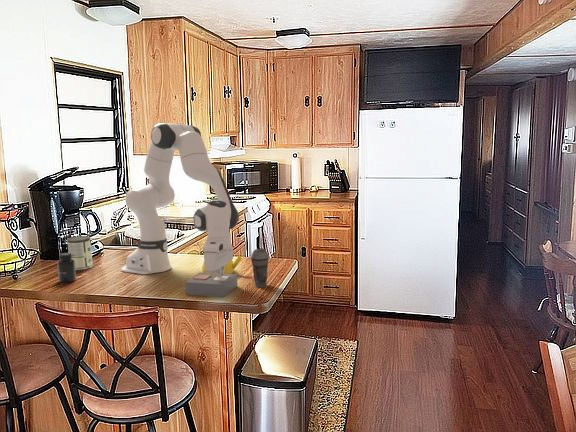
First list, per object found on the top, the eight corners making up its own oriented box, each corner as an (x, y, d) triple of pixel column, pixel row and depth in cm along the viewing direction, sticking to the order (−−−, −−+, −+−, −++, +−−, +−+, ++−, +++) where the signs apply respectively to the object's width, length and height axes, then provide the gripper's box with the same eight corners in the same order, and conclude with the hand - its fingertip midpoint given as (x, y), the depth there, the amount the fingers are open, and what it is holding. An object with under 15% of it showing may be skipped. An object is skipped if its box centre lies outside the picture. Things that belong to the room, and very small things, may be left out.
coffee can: (70, 265, 252) (68, 236, 249) (93, 263, 254) (91, 235, 252) (68, 271, 242) (65, 241, 239) (92, 268, 244) (89, 239, 242)
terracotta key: (194, 284, 207) (193, 278, 207) (199, 280, 212) (199, 274, 212) (205, 285, 206) (205, 278, 206) (211, 281, 211) (210, 275, 210)
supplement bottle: (59, 284, 221) (57, 256, 219) (58, 280, 227) (55, 253, 225) (77, 281, 224) (74, 254, 222) (75, 277, 230) (72, 251, 228)
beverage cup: (251, 283, 217) (250, 236, 213) (269, 282, 217) (267, 235, 214) (251, 288, 209) (250, 239, 206) (270, 287, 210) (268, 239, 207)
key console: (185, 294, 204) (185, 282, 203) (201, 283, 217) (200, 272, 216) (224, 297, 200) (223, 284, 199) (237, 286, 213) (236, 274, 212)
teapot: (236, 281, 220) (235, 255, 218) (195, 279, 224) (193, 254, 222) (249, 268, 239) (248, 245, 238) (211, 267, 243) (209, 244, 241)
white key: (212, 285, 205) (212, 279, 205) (217, 282, 210) (217, 275, 210) (224, 286, 204) (224, 280, 203) (229, 282, 209) (229, 276, 208)
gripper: (222, 236, 215) (223, 269, 217) (200, 248, 195) (202, 283, 198) (236, 237, 213) (237, 270, 215) (216, 248, 194) (217, 284, 196)
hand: (220, 276), depth 206 cm, fingers closed
